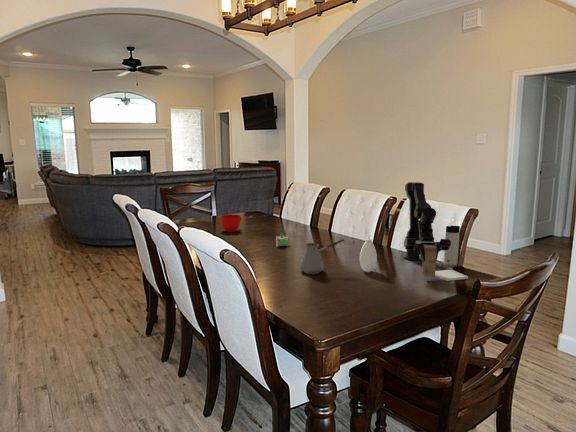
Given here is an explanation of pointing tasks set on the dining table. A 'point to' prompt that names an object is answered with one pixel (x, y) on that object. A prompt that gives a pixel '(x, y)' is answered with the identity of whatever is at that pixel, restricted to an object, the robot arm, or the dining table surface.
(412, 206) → the robot arm
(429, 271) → the walnut block
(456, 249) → the travel mug
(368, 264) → the white teardrop shape
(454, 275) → the felt coaster
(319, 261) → the coffee pot
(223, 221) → the ceramic cup
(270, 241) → the dining table surface
